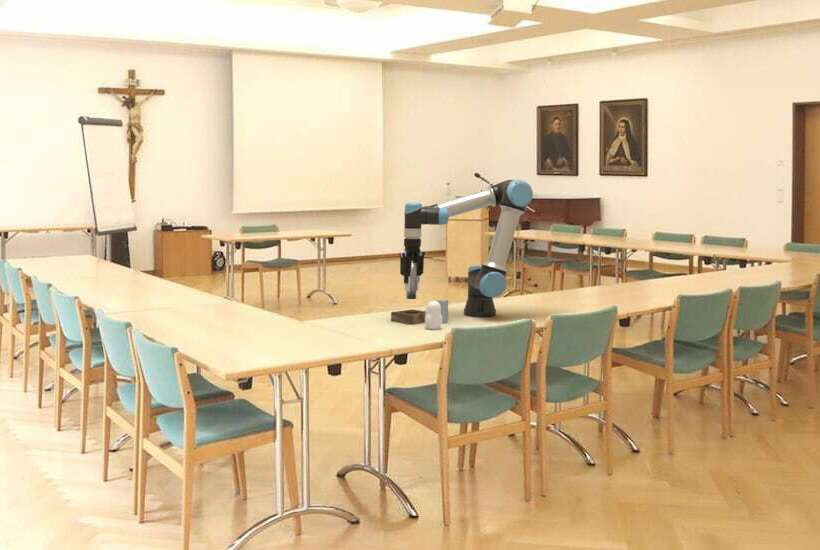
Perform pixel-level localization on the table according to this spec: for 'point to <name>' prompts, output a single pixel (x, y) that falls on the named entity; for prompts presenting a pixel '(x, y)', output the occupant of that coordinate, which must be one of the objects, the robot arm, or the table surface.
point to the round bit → (412, 281)
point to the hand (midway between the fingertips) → (411, 290)
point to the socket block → (408, 316)
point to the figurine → (433, 316)
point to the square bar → (444, 310)
